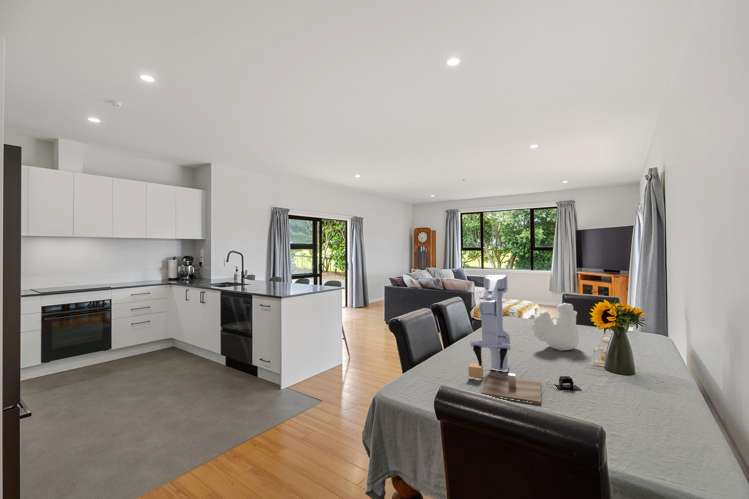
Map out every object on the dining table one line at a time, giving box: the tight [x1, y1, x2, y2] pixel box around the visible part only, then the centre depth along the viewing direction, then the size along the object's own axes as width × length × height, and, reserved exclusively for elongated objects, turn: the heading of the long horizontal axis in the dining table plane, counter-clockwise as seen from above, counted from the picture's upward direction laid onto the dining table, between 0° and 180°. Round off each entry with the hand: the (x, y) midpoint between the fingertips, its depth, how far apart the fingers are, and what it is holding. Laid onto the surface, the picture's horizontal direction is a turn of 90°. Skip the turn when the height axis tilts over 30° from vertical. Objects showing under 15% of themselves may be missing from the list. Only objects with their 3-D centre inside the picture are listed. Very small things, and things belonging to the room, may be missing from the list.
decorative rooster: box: [530, 302, 580, 351], centre depth 182 cm, size 25×16×25 cm, turn 81°
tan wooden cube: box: [467, 362, 484, 380], centre depth 144 cm, size 5×5×6 cm
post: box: [507, 372, 517, 388], centre depth 131 cm, size 3×3×5 cm
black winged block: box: [554, 375, 583, 392], centre depth 131 cm, size 12×7×5 cm, turn 82°
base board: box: [481, 374, 542, 406], centre depth 131 cm, size 20×20×1 cm
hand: (490, 366), depth 129 cm, fingers open, 7 cm apart
